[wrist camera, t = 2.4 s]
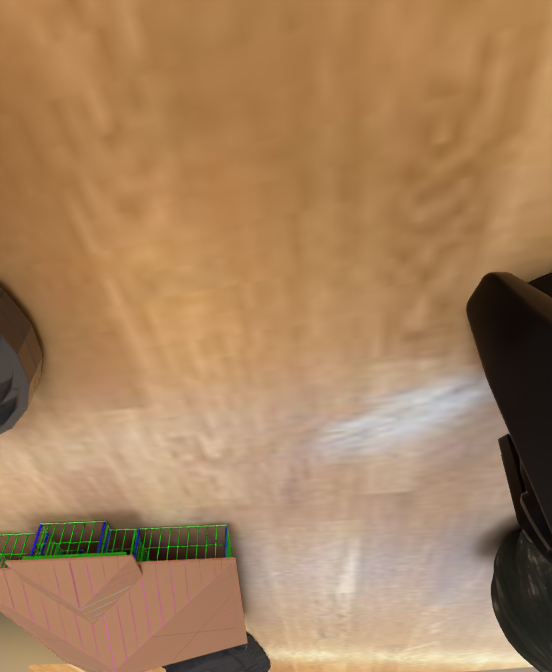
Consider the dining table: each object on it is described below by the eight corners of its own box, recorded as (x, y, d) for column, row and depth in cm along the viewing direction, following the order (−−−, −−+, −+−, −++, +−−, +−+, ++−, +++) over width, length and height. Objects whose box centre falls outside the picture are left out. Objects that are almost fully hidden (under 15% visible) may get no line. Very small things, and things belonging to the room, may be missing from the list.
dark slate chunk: (187, 672, 79) (185, 708, 75) (137, 639, 64) (131, 681, 60) (275, 664, 77) (277, 699, 74) (245, 627, 62) (245, 670, 59)
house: (234, 504, 38) (232, 615, 32) (248, 623, 61) (249, 700, 55) (-48, 516, 37) (-103, 632, 32) (73, 632, 60) (54, 712, 54)
